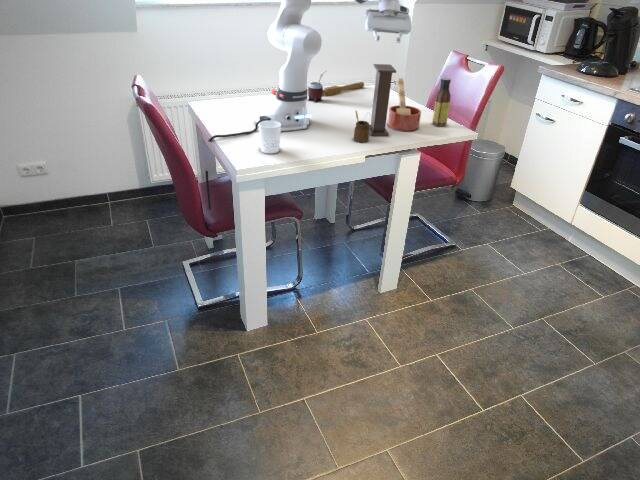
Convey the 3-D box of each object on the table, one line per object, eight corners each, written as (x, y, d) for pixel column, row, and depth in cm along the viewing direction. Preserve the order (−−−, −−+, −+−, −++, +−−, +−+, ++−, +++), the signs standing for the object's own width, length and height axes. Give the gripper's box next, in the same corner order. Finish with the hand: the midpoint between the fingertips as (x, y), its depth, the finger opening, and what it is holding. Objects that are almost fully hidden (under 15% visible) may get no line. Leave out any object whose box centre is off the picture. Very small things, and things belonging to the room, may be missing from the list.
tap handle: (364, 82, 256) (322, 90, 238) (364, 88, 258) (322, 96, 240) (360, 81, 258) (318, 89, 240) (360, 86, 260) (318, 95, 242)
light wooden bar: (392, 80, 214) (393, 77, 212) (406, 80, 215) (407, 78, 213) (396, 125, 208) (398, 122, 206) (410, 125, 209) (411, 123, 207)
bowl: (402, 133, 202) (404, 117, 198) (381, 123, 211) (382, 107, 207) (425, 128, 209) (427, 112, 205) (403, 119, 218) (405, 103, 214)
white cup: (255, 151, 178) (255, 125, 172) (265, 144, 184) (264, 119, 178) (275, 155, 175) (275, 129, 170) (284, 148, 182) (284, 122, 176)
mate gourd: (307, 98, 237) (308, 66, 229) (323, 98, 238) (324, 66, 230) (308, 102, 231) (309, 70, 223) (324, 103, 232) (326, 70, 224)
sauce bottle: (447, 123, 215) (456, 78, 204) (444, 127, 210) (453, 81, 200) (433, 121, 217) (441, 75, 207) (429, 125, 212) (437, 78, 202)
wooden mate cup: (370, 142, 192) (374, 112, 185) (355, 143, 190) (358, 113, 184) (365, 136, 196) (368, 107, 190) (350, 137, 195) (353, 108, 188)
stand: (366, 127, 206) (373, 63, 192) (382, 127, 207) (390, 64, 193) (371, 135, 198) (378, 70, 184) (387, 136, 198) (396, 70, 184)
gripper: (366, 5, 209) (366, 36, 208) (412, 9, 212) (412, 40, 211) (363, 12, 215) (363, 42, 215) (408, 16, 218) (407, 46, 217)
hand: (387, 41), depth 213 cm, fingers open, 8 cm apart
